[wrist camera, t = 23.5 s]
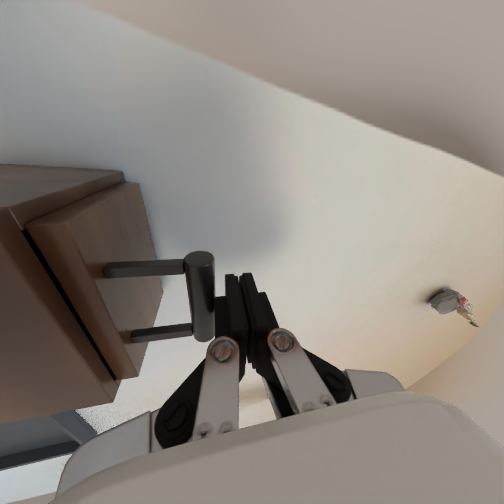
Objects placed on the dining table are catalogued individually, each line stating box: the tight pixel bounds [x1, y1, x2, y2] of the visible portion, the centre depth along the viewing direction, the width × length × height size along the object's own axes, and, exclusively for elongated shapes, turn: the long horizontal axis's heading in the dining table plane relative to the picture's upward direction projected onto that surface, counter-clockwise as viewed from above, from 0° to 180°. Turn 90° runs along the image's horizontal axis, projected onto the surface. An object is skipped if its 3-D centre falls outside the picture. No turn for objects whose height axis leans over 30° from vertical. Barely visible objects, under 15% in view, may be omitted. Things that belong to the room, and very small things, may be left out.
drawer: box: [21, 182, 215, 380], centre depth 11 cm, size 18×10×8 cm, turn 85°
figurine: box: [429, 289, 479, 327], centre depth 29 cm, size 5×4×6 cm
